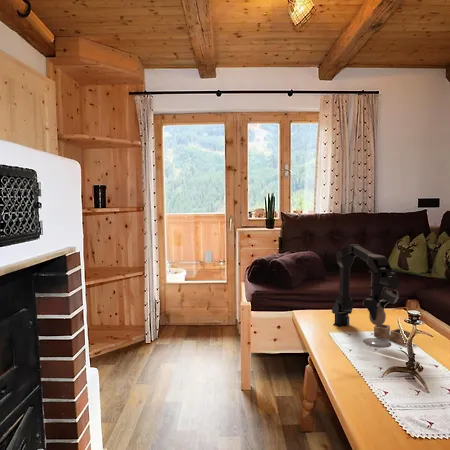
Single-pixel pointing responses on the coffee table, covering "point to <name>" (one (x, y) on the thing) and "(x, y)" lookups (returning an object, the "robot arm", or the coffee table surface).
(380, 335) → the box
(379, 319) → the vase
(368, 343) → the coaster
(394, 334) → the box
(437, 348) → the coffee table surface
